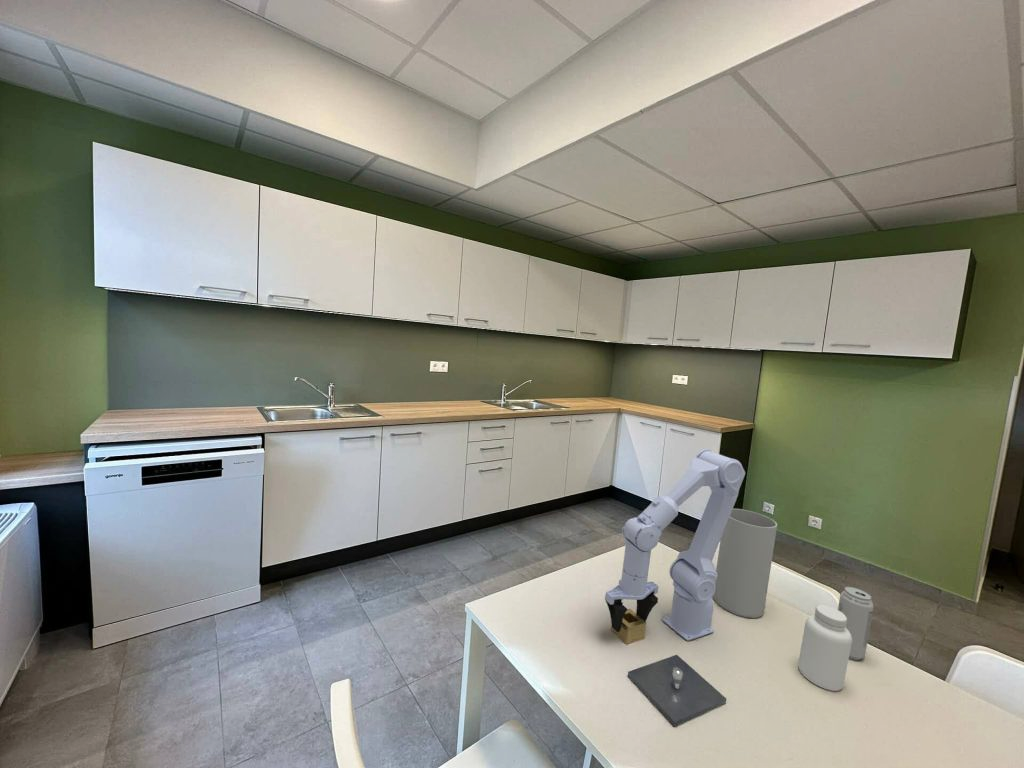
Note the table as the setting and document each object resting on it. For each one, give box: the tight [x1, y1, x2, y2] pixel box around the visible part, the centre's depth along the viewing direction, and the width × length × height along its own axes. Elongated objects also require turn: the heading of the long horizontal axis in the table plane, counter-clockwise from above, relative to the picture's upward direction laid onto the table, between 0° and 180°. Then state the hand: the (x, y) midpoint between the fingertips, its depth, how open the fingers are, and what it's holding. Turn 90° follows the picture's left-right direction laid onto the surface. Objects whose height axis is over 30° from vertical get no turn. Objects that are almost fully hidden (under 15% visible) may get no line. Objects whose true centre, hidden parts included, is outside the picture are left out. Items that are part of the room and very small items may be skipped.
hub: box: [610, 608, 647, 645], centre depth 95 cm, size 5×5×4 cm
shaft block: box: [627, 654, 727, 728], centre depth 80 cm, size 14×12×4 cm
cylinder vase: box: [712, 508, 778, 619], centre depth 111 cm, size 12×12×25 cm
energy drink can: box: [837, 586, 874, 661], centre depth 96 cm, size 6×6×15 cm
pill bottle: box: [797, 604, 852, 692], centre depth 87 cm, size 8×8×15 cm
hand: (628, 625), depth 95 cm, fingers open, 7 cm apart
